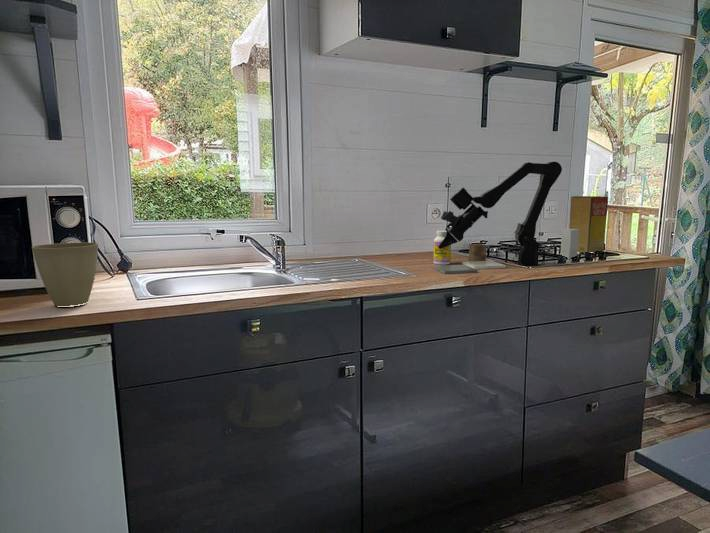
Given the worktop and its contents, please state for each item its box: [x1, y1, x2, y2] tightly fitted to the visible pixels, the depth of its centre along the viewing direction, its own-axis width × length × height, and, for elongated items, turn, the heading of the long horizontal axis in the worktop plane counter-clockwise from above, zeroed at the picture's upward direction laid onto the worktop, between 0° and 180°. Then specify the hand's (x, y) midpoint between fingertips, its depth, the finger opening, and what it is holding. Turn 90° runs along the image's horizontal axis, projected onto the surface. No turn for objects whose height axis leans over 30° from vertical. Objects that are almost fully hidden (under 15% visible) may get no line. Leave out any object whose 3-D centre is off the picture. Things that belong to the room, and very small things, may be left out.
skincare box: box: [559, 228, 579, 260], centre depth 201 cm, size 6×4×12 cm
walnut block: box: [468, 243, 487, 261], centre depth 195 cm, size 5×5×7 cm
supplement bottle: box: [433, 230, 452, 266], centre depth 191 cm, size 7×7×13 cm
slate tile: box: [432, 264, 478, 275], centre depth 176 cm, size 12×12×1 cm
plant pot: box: [31, 242, 99, 306], centre depth 128 cm, size 15×15×16 cm
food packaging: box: [568, 195, 609, 253], centre depth 218 cm, size 13×9×25 cm
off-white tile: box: [461, 260, 506, 270], centre depth 185 cm, size 12×12×1 cm
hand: (438, 246), depth 191 cm, fingers open, 7 cm apart
